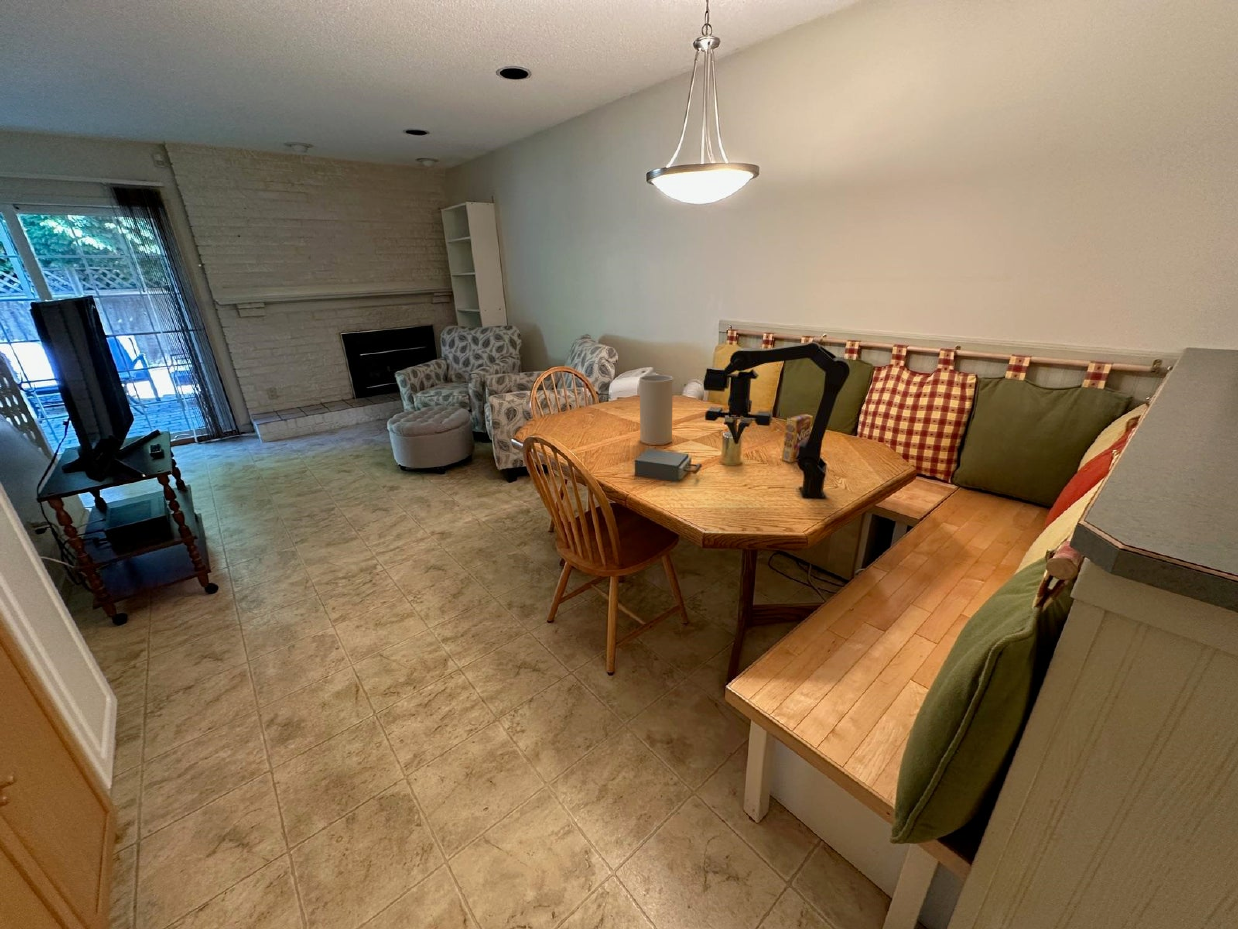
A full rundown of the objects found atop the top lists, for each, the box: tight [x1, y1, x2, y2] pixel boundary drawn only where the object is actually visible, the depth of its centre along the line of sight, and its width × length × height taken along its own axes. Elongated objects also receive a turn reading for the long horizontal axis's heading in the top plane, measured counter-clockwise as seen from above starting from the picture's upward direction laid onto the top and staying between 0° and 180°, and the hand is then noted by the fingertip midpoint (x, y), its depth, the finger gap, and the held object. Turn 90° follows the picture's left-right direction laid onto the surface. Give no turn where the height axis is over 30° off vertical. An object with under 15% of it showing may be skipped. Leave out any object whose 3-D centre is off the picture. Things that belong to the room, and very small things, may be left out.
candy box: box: [781, 413, 814, 464], centre depth 164 cm, size 9×4×15 cm, turn 123°
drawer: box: [678, 456, 703, 480], centre depth 156 cm, size 18×10×4 cm, turn 65°
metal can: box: [720, 431, 743, 466], centre depth 164 cm, size 7×7×10 cm
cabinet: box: [634, 448, 690, 483], centre depth 158 cm, size 15×12×6 cm
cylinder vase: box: [639, 374, 674, 446], centre depth 185 cm, size 12×12×25 cm
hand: (736, 443), depth 144 cm, fingers closed
